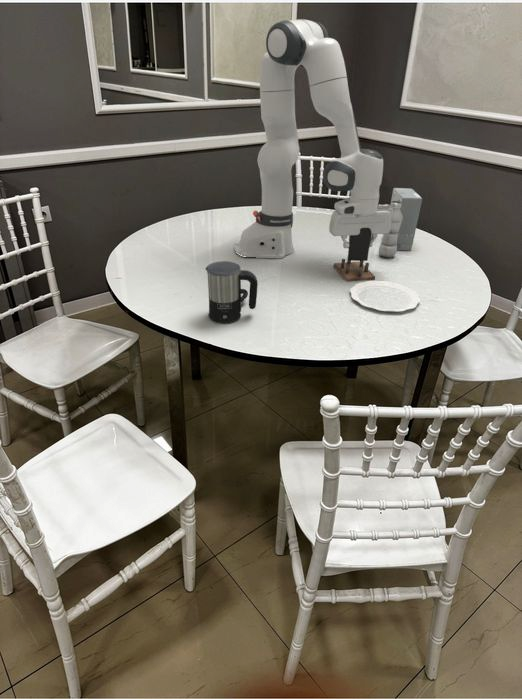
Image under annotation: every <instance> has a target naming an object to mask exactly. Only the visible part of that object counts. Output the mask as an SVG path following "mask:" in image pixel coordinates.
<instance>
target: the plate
mask: <svg viewBox="0 0 522 699" xmlns="http://www.w3.org/2000/svg"><path fill="white" fill-rule="evenodd" d="M368 289H387V290H392V291H394V292H397V293H400V294H402V295H404V296H406V298H407V299H408V301H409V300H410V302H409V303H410V304H409V303H408V305H406V307H404V308H399V309H384V308H379V307H378V308H377V307H374V306H371V305H368V304H366V303H364V302H363V301H362V300H361V299H360V298H359V296H360V293H361V292H363V291H366V290H368ZM349 293H350V296H351V299H353V300H354V301H355V302H357V303H359V304H360V305H361V306H363V307H366V308H370V309H373V310H377V311H380V312H398V313H399V312H400V313H401V312H405V311H407V310H413V309H415V308H417V305H419V304H420V302H421V299H420V297H419V295H418V293H417V292H416V291H414V290H413V289H410V288H409V287H407V286H405V285H402V284H399V283H395V282H391V281H386V280H366V281H363V282H362V281H361V282H358V283H355V284H354V286H352V287H351V288H350V289H349Z"/></svg>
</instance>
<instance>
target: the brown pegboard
mask: <svg viewBox="0 0 522 699" xmlns="http://www.w3.org/2000/svg"><path fill="white" fill-rule="evenodd" d="M364 262H365V261H352V260H348V259H347V261H346V258H341V262H334V263H333V268H334V269H335V270H336V271H337V272H338V274H340V276H341V277H342V278H343V280H344V281H345V282H348V283H349V282H362V281H363V282H366V281H376V275H375V274H374V273H373V272H371V270H369V266H370V263H369V262H365V263H364ZM364 264H365V265H364Z"/></svg>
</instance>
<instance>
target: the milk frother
mask: <svg viewBox="0 0 522 699" xmlns="http://www.w3.org/2000/svg"><path fill="white" fill-rule="evenodd" d="M205 271H206V274H207V288H208V318H209V320H211V321H212V322H213V323H217V324H231V323H235V322H237V321H238V320H239V319H240V318H241V317H242V314H241V312H242V303H243V302H244V301H245V300H246V299H247V297H248V307H249V309H250V310H254V309H256V306H257V297H258V285H259V284H258V283H259V282H258V279H257V277H256V275H255V273H253V272H252V271H250V270H245V269H244V270H243V269H241V266H240V265H239V264H238V263H236V262H233V261H229V260H228V261H227V260H223V261H214V262H212V263H209V264H208V265H207V266H205ZM241 281H248V282H249V292H248V289H245V288H241V287H242V284H241Z"/></svg>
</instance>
